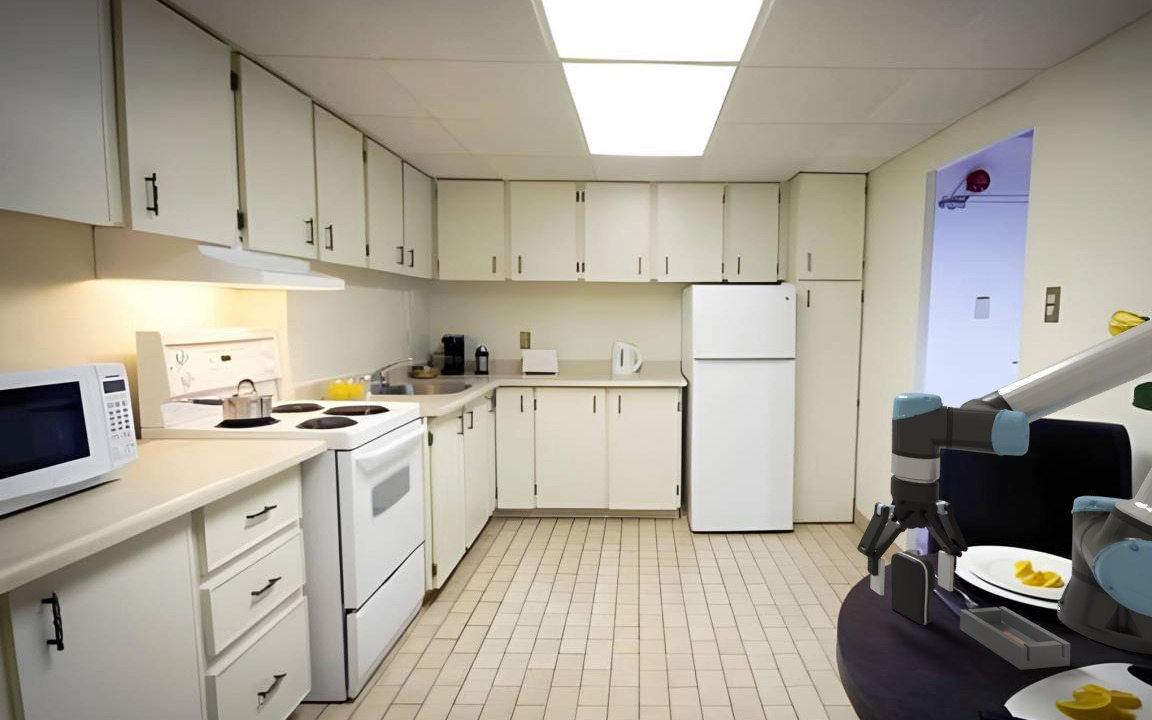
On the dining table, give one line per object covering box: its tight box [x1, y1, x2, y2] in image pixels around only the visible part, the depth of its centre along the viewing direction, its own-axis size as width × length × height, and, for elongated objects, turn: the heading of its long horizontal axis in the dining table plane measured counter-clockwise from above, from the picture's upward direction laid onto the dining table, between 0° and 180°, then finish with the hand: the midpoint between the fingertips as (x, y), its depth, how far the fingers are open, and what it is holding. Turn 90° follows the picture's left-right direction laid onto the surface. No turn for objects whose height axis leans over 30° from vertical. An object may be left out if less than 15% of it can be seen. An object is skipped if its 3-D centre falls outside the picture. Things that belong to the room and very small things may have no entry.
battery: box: [890, 551, 936, 626], centre depth 98 cm, size 7×4×11 cm, turn 17°
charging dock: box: [959, 606, 1071, 671], centre depth 88 cm, size 8×12×4 cm
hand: (911, 589), depth 98 cm, fingers open, 13 cm apart
